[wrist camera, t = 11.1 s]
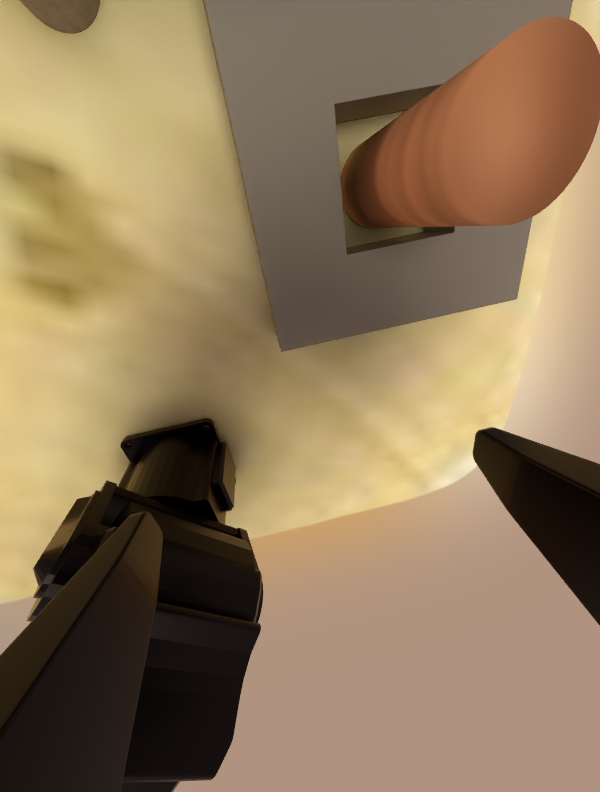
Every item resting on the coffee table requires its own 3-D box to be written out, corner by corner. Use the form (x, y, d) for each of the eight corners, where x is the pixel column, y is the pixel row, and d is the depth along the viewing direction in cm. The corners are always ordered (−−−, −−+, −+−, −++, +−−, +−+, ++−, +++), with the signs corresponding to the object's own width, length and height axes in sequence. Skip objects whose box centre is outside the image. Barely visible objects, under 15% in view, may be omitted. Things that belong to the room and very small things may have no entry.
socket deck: (276, 335, 19) (281, 351, 17) (110, -415, 8) (50, -704, 6) (481, 290, 20) (516, 299, 17) (577, -460, 9) (710, -736, 6)
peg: (344, 234, 17) (446, 238, 8) (336, 145, 15) (459, 33, 6) (411, 220, 17) (576, 210, 9) (411, 130, 15) (628, 2, 7)
